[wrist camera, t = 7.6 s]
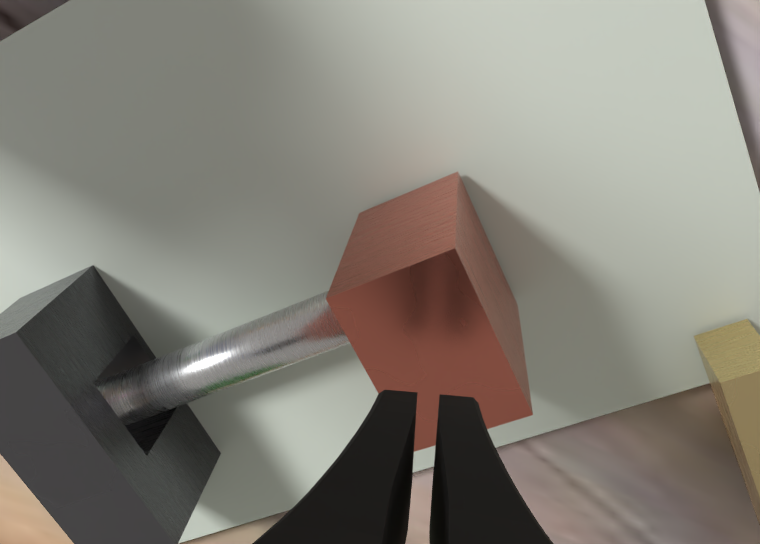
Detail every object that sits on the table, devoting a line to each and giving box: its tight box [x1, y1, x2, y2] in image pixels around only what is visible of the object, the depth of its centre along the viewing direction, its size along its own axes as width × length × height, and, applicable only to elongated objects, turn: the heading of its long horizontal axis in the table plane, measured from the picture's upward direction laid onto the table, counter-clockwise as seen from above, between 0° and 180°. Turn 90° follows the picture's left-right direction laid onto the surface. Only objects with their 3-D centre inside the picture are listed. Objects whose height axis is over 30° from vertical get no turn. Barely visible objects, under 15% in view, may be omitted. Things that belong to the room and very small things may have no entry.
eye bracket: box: [0, 265, 221, 544], centre depth 22 cm, size 8×3×4 cm, turn 26°
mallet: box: [94, 171, 533, 452], centre depth 20 cm, size 4×16×5 cm, turn 116°
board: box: [0, 0, 760, 543], centre depth 22 cm, size 18×25×1 cm
